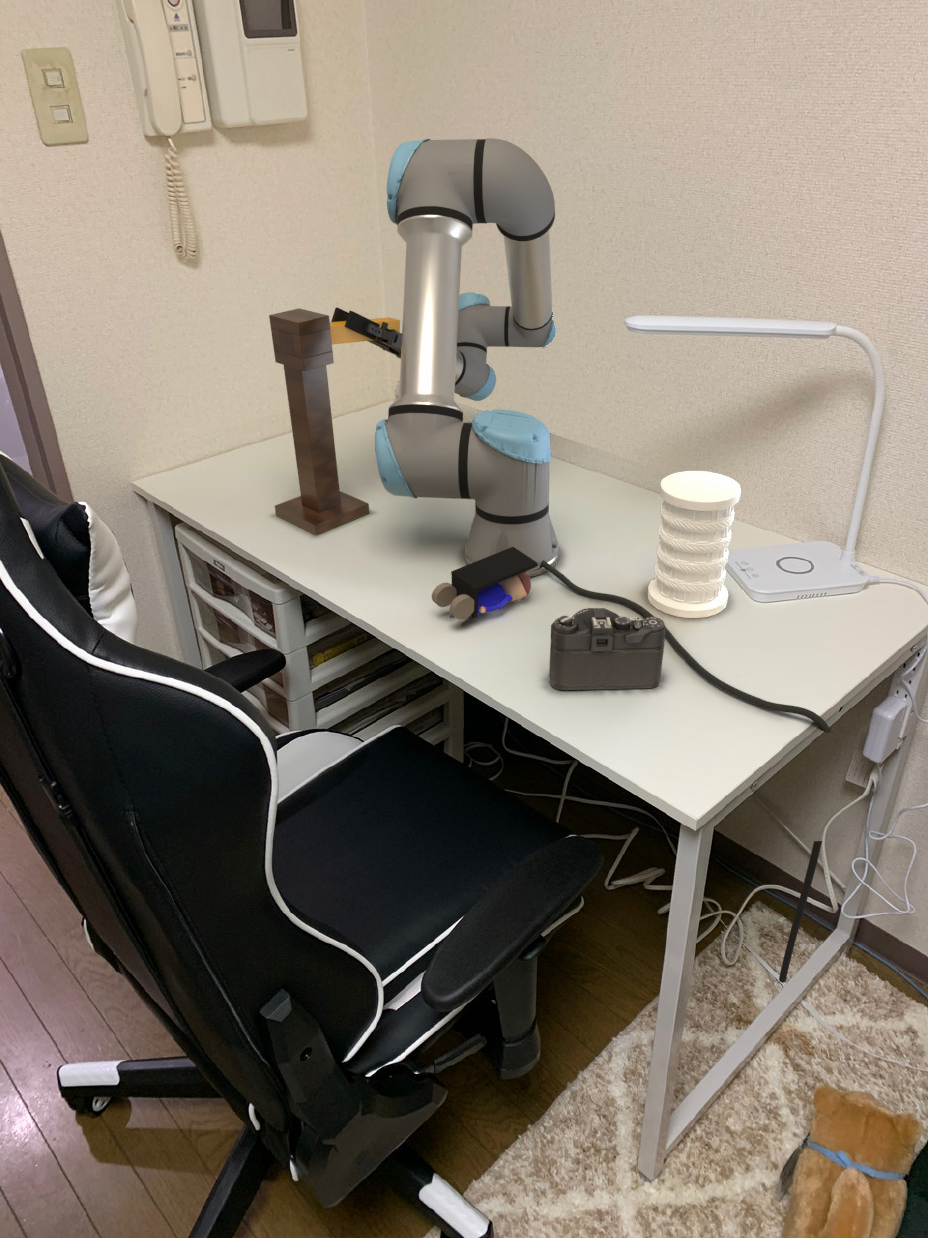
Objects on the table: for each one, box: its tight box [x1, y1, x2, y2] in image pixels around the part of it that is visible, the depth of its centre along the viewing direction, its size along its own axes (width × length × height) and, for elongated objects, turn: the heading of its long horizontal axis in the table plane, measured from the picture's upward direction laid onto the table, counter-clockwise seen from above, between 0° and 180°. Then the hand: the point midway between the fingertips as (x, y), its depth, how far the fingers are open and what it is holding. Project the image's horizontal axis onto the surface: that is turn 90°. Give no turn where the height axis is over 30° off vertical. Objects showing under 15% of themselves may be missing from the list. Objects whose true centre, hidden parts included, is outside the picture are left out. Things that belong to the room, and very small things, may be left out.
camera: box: [548, 607, 667, 691], centre depth 116 cm, size 14×11×10 cm
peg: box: [330, 316, 401, 345], centre depth 152 cm, size 18×3×3 cm, turn 135°
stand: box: [268, 308, 370, 536], centre depth 153 cm, size 12×12×35 cm
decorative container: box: [647, 470, 742, 619], centre depth 129 cm, size 12×12×18 cm
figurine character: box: [431, 547, 538, 626], centre depth 131 cm, size 7×8×15 cm
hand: (341, 317), depth 150 cm, fingers closed on peg, 3 cm apart
